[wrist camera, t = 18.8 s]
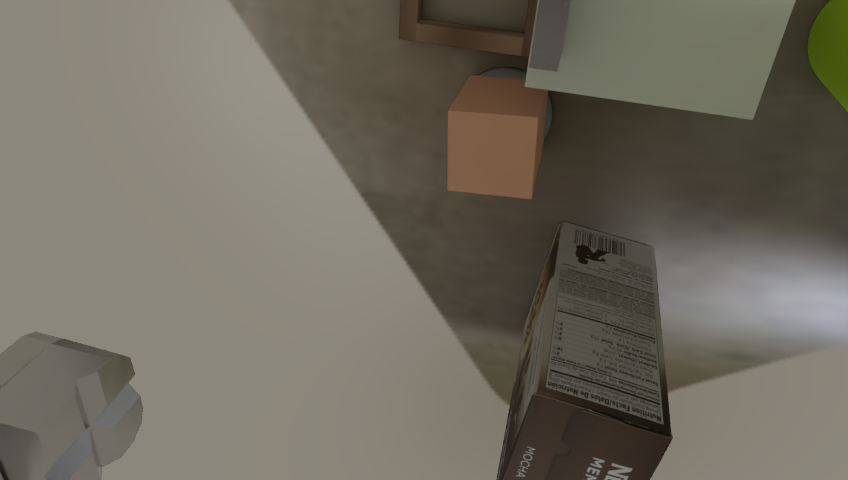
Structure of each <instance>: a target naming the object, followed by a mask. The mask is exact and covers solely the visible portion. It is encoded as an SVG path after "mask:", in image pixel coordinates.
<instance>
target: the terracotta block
mask: <svg viewBox="0 0 848 480" xmlns="http://www.w3.org/2000/svg"><path fill="white" fill-rule="evenodd" d="M525 80H526V78H510V77H495V76H479V75H470V76H469V78H468V79H467V81H466V83H465V84H464V86H463V87H462V89H461V91H460V92H459V94H458V95H457V97H456V98H455V100H454V102H453V103H452V105H451V106H450V108H449V110H448V172H447V191H456V192H466V193H476V194H485V195H495V196H504V197H514V198H524V199H532V195H533V191H534V186H535V182H536V178H537V174H538V170H539V166H540V161H541V157H542V152H543V141H544V130H545V118H546V107H547V96H548V90H545V89H538V88H531V87H525Z"/></svg>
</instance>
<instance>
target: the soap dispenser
mask: <svg viewBox="0 0 848 480" xmlns="http://www.w3.org/2000/svg"><path fill="white" fill-rule="evenodd" d="M807 51H808V58H809V62H810V65H811V67H812V69H813V71H814V73H815V74H816V75H817V77H818V78H819V79H820V80H821V81H822V83H823V84H824V85H825V86H826V87H827V88H828V90H829V91H830V92H831V93H832V94H833V96H834V97H835V98H836V99H837V100H838V102H839V103H840V104H841V105H842V106H843V107H844V109H845V110H846V111H847V112H848V0H830V1H829V2H828V3H827V4H826V5H825V6H824V7H823V9H822V10H821V11H820V13H819V14H818V16H817V17H816V19H815V21H814V23H813V25H812V28H811V30H810V34H809V38H808V46H807Z"/></svg>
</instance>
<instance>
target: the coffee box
mask: <svg viewBox="0 0 848 480" xmlns="http://www.w3.org/2000/svg"><path fill="white" fill-rule="evenodd" d="M672 438H673V437H672V434H671V426H670V414H669V403H668V392H667V382H666V371H665V361H664V350H663V340H662V329H661V318H660V306H659V294H658V283H657V272H656V262H655V252H654V248H653V247H651V246H647V245H644V244H640V243H637V242H633V241H630V240H626V239H623V238H619V237H616V236H612V235H609V234H605V233H602V232H598V231H595V230H591V229H587V228H584V227H581V226H577V225H574V224H570V223H567V222H561V223H560V224H559V225H558V228H557V231H556V233H555V236H554V239H553V242H552V245H551V248H550V251H549V254H548V257H547V260H546V263H545V266H544V269H543V272H542V275H541V278H540V281H539V284H538V287H537V290H536V293H535V296H534V299H533V302H532V305H531V308H530V311H529V313H528V316H527V319H526V322H525V325H524V331H523V336H522V343H521V348H520V354H519V359H518V364H517V370H516V375H515V381H514V387H513V392H512V397H511V403H510V408H509V414H508V419H507V425H506V430H505V436H504V441H503V447H502V452H501V458H500V463H499V469H498V474H497V480H650V478H651V477H652V475H653V473H654V471H655V469H656V468H657V466H658V464H659V462H660V461H661V459H662V457H663V455H664V453H665V451H666V450H667V448H668V446H669V444H670V442H671V440H672Z"/></svg>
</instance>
